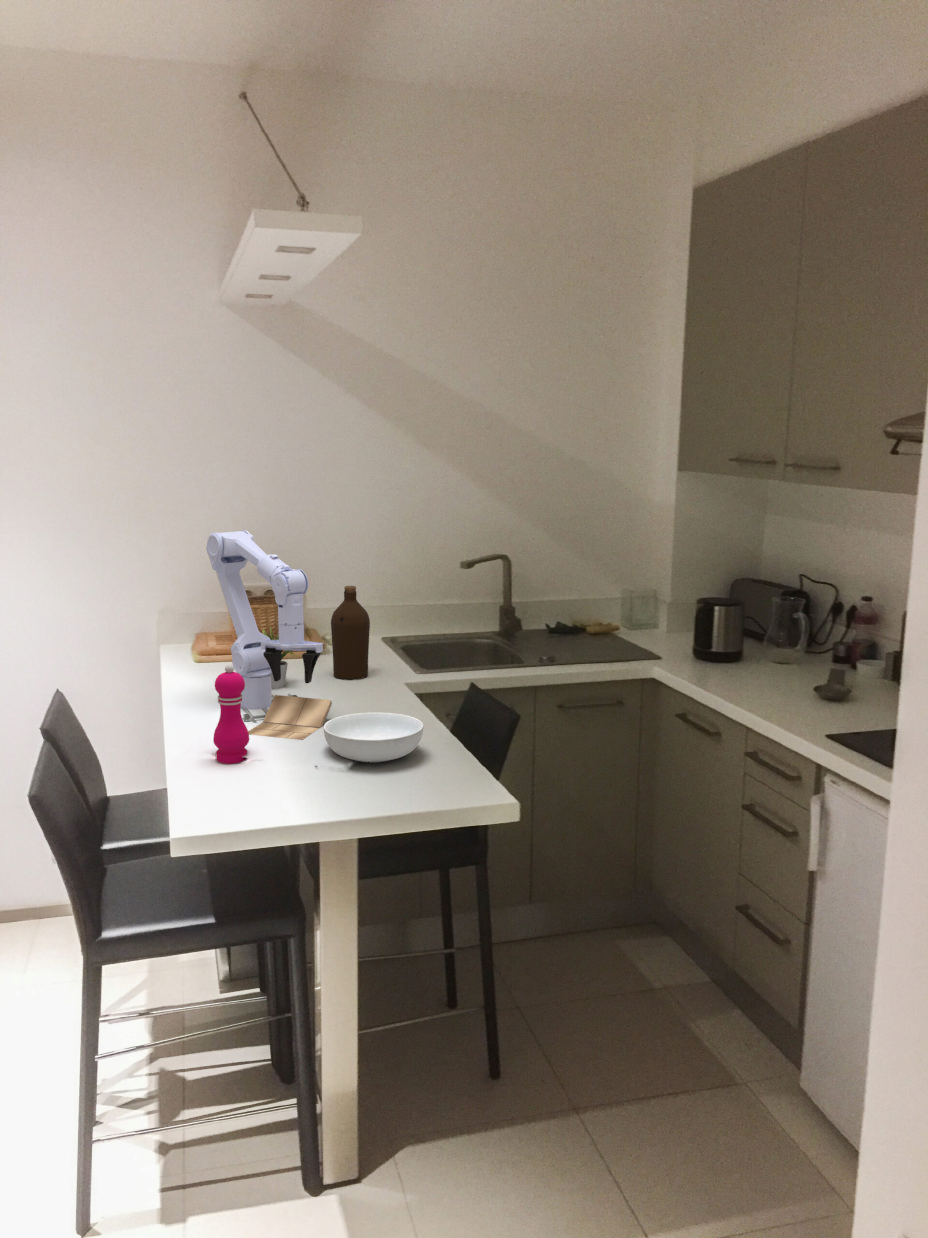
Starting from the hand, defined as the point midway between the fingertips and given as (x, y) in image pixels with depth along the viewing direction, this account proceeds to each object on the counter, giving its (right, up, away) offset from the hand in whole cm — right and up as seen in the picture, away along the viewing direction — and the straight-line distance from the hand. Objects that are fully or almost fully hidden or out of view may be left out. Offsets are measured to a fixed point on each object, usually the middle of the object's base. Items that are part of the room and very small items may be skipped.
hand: (292, 681), depth 233 cm
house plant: (-10, -4, +34) cm, 35 cm away
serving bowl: (+20, -15, -20) cm, 32 cm away
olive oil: (+8, -2, +47) cm, 48 cm away
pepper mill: (-8, -15, -24) cm, 29 cm away
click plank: (+1, -8, 0) cm, 8 cm away
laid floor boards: (-1, -12, -8) cm, 14 cm away
